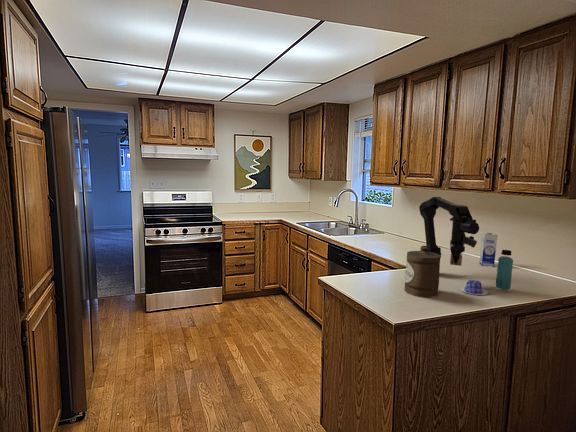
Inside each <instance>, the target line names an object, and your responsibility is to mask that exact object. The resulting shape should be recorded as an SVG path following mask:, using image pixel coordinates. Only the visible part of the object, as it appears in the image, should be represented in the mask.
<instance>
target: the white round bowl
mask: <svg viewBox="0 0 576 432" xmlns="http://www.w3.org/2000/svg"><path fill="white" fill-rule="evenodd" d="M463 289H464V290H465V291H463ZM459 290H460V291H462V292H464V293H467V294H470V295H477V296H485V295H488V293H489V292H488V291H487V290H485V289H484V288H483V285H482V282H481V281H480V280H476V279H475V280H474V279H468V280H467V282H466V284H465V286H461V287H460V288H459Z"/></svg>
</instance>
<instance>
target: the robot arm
mask: <svg viewBox="0 0 576 432" xmlns="http://www.w3.org/2000/svg"><path fill="white" fill-rule="evenodd" d="M439 208H441V209H443V210H445V211H447V212H448V214H449V215H450V216H452V217H451V218H450V219H449V221H450V222H451V221H452V226H451V227H452V228H451V236H450V237H451V239H450V241H449V243H450V244H449V245H450V246H449V248H450V254H451V253H452V256H453V259H454V262H455V263H457V262H458V259H459V256H460V254H463V253H465V250H466V246H465V245H467V246H469V247H471V248H473V249H474V248H475V247H476V245H477V244H478V241H477V240H476V239H475V238H474V236H472V235H476V234H478V232H479V231H480V226H479V223H477V220H476V219H473V216H472V214H471V212H470V210H469V206H467V205H464V204H459V203H458V204H456V203H454V202H451V201H449V200H446V199H445V198H443V197H441V196H433V197H431V198H430V199H427V200H425V201H424V202H422V203H421V204H419V207H418V209H419V214H420V216H421V218H423V224H424V234H425V244H426V245H425V246H426V247H428V250H427V251H428V252H432V253H436V254H439V255H440V259H441V258H442V250H441V249H442V248H441V247H440V246H438V245H437V240H436V239H437V238H436V228H435V221H434V220H435V219H434V218H435V216H436V214H437V210H438V209H439ZM466 234H470V236H466Z"/></svg>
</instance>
